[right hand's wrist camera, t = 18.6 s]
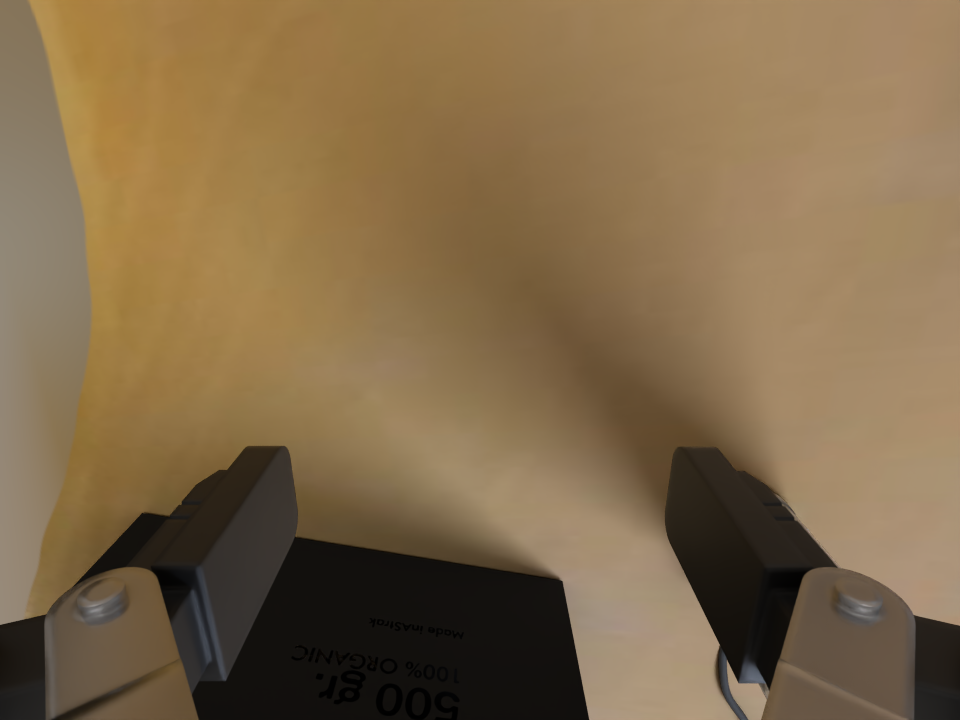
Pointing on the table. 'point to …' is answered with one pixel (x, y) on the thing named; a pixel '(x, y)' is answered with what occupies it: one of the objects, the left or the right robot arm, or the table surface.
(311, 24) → the table surface
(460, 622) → the cardboard box
